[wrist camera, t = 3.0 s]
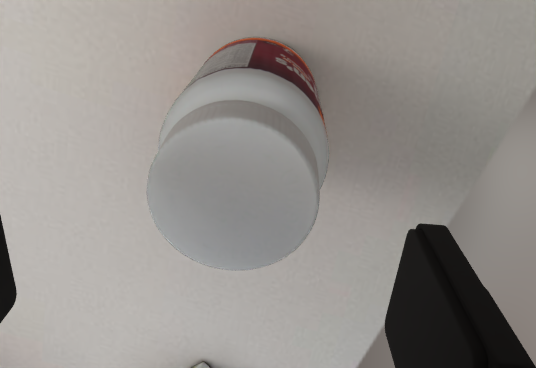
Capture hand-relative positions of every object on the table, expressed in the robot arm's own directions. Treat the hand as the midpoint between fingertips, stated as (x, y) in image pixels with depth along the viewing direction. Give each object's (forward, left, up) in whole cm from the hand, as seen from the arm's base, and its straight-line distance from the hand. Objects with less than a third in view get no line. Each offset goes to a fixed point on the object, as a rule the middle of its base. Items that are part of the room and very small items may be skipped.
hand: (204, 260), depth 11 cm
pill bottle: (0, 0, -15) cm, 15 cm away
